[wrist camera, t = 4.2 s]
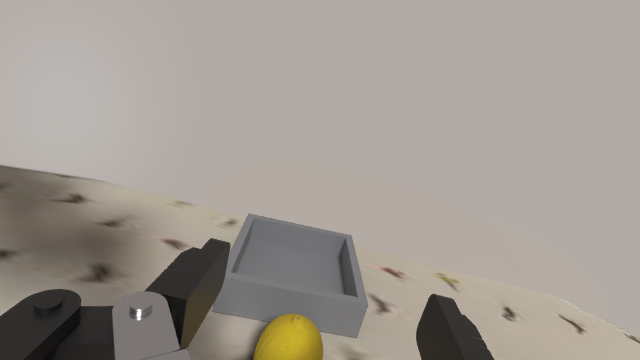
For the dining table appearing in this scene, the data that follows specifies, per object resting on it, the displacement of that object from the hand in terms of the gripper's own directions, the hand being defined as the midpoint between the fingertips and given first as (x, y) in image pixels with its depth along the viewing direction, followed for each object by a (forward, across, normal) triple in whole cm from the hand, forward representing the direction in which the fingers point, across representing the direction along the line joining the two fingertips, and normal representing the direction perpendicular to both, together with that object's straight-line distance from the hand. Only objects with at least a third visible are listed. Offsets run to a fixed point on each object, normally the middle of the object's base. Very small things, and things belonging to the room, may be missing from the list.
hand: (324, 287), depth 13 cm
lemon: (+10, 0, +18) cm, 21 cm away
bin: (+26, +2, +18) cm, 32 cm away
